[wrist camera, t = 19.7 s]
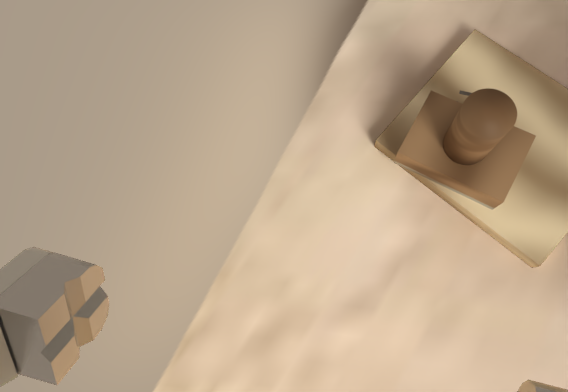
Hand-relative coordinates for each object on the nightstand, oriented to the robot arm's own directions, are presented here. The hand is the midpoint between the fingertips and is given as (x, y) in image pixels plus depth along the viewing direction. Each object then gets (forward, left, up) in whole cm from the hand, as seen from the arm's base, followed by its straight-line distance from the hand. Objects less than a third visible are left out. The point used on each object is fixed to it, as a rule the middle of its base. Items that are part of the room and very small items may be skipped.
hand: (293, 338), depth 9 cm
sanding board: (-11, -15, -27) cm, 33 cm away
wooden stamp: (-8, -14, -26) cm, 30 cm away
